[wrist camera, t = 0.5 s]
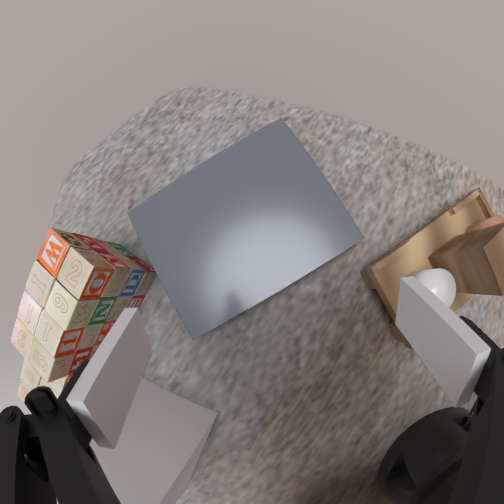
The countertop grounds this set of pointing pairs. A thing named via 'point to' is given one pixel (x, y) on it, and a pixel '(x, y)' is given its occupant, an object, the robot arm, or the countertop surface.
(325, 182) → the dock
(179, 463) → the milk
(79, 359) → the stack of blocks
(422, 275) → the white egg
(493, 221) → the brown egg
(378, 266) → the carrier tray
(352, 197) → the countertop surface
